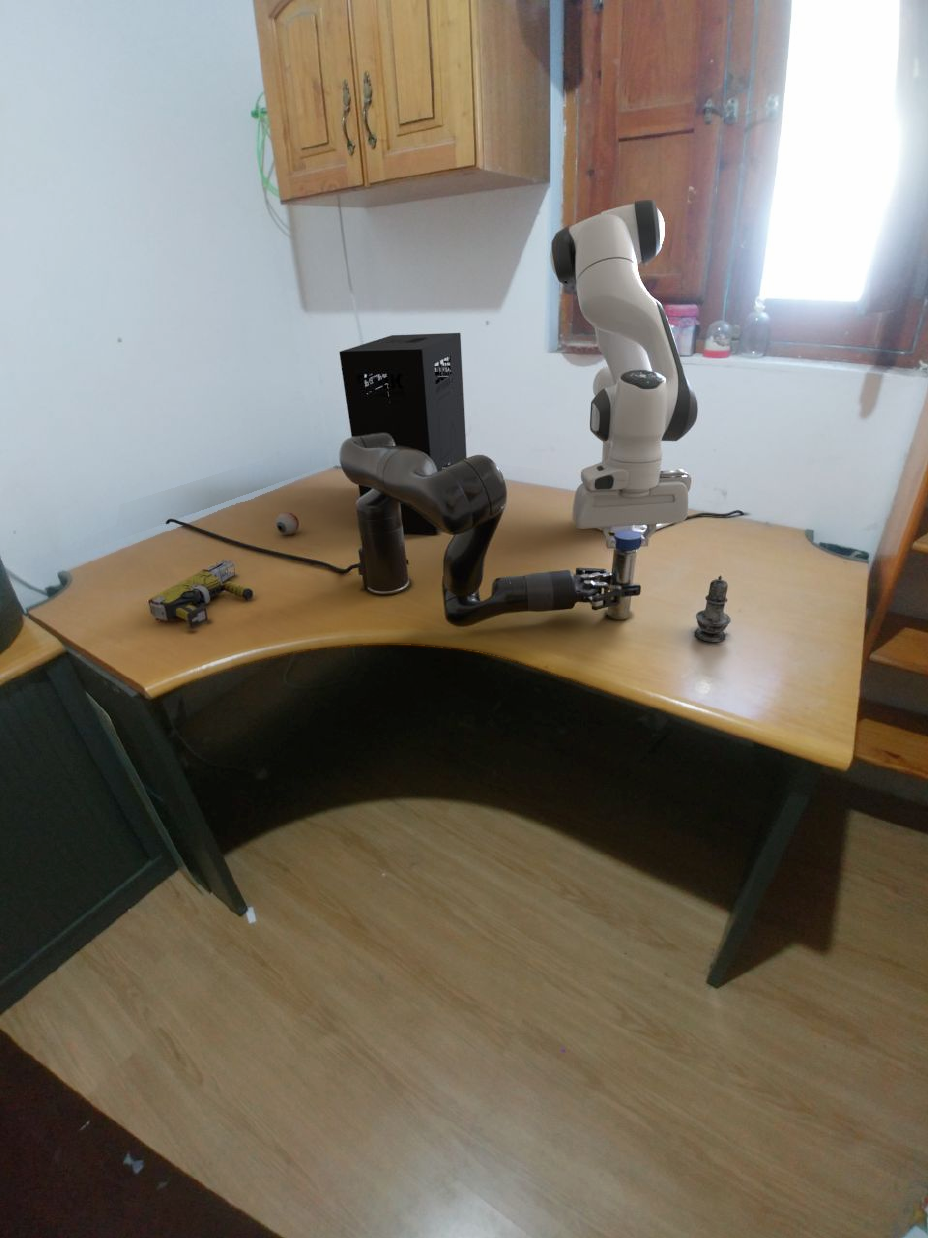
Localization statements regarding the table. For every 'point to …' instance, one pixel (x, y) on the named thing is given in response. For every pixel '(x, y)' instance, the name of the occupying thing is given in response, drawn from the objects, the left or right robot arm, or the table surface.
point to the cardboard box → (409, 400)
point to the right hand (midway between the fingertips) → (626, 546)
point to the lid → (627, 540)
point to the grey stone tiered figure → (713, 613)
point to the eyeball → (287, 523)
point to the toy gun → (196, 595)
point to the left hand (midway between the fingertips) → (635, 583)
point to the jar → (622, 581)
